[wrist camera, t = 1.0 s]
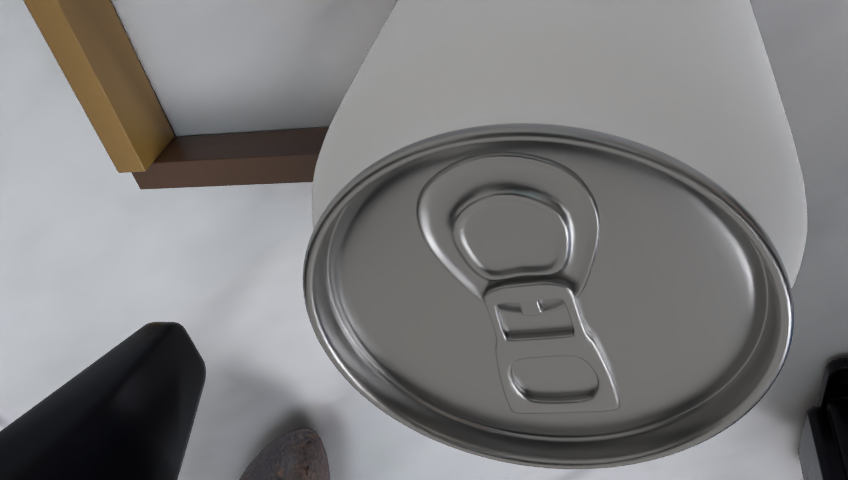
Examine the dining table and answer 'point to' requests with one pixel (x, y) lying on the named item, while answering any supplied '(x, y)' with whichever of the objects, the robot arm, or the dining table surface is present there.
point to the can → (559, 226)
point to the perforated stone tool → (291, 459)
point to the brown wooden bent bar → (158, 111)
